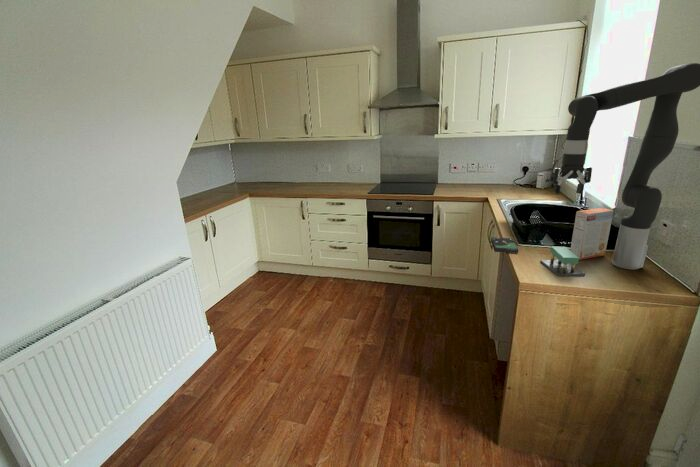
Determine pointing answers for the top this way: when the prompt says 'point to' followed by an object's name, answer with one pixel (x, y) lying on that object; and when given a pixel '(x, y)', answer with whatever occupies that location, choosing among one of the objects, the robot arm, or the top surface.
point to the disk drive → (504, 245)
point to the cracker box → (591, 232)
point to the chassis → (562, 268)
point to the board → (564, 255)
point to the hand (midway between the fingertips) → (567, 193)
